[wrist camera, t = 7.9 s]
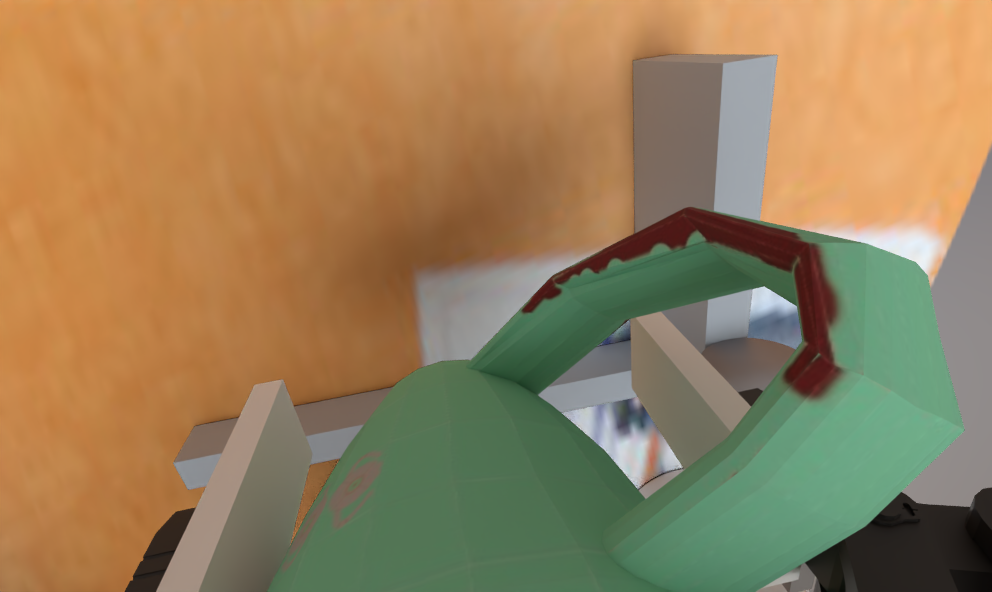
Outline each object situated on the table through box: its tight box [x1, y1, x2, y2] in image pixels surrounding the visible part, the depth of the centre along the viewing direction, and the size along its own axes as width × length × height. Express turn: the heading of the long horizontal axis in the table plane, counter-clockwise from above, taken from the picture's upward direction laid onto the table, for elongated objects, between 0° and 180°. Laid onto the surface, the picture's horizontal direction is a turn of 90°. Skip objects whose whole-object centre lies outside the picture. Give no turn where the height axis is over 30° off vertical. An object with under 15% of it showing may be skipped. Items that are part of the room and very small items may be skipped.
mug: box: [267, 207, 965, 592], centre depth 11 cm, size 15×10×10 cm
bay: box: [173, 54, 815, 592], centre depth 22 cm, size 30×20×14 cm, turn 98°
